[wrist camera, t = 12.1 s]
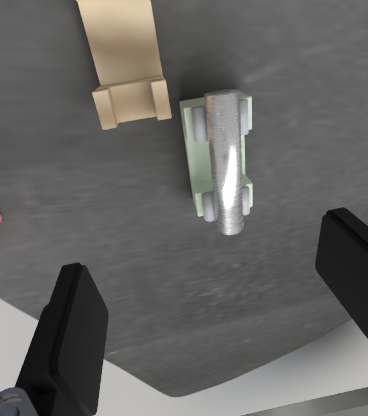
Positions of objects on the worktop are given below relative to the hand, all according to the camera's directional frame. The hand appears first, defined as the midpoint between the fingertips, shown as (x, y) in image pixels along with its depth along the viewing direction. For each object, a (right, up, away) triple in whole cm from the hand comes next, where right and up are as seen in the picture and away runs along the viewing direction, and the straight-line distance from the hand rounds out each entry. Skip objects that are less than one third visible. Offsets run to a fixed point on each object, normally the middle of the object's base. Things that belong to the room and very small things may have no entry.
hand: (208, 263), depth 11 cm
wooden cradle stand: (-7, +18, +14) cm, 24 cm away
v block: (+3, +9, +21) cm, 23 cm away
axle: (+3, +6, +16) cm, 17 cm away
